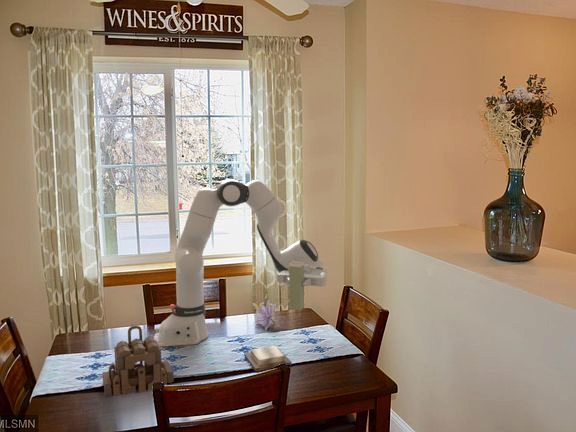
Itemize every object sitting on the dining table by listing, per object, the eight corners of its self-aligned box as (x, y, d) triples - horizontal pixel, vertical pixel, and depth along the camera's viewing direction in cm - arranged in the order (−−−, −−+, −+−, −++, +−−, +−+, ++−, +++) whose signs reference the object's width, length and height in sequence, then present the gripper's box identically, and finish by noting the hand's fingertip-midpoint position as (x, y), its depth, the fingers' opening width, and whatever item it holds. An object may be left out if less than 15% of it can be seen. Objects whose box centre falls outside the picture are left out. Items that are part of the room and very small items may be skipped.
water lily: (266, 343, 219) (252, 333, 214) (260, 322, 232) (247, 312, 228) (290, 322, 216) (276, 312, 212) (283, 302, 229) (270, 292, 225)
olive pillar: (289, 309, 190) (288, 263, 188) (292, 305, 195) (292, 261, 192) (300, 310, 189) (300, 264, 186) (303, 306, 193) (304, 261, 191)
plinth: (255, 371, 175) (255, 363, 175) (244, 356, 188) (244, 348, 188) (291, 365, 180) (291, 356, 180) (278, 350, 193) (278, 343, 193)
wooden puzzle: (105, 400, 156) (102, 344, 154) (102, 380, 170) (99, 328, 167) (175, 386, 165) (173, 333, 163) (167, 368, 179) (165, 319, 176)
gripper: (282, 265, 205) (270, 273, 192) (330, 269, 199) (321, 277, 186) (282, 280, 206) (270, 289, 193) (329, 284, 200) (321, 293, 187)
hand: (295, 283), depth 189 cm, fingers closed on olive pillar, 4 cm apart
